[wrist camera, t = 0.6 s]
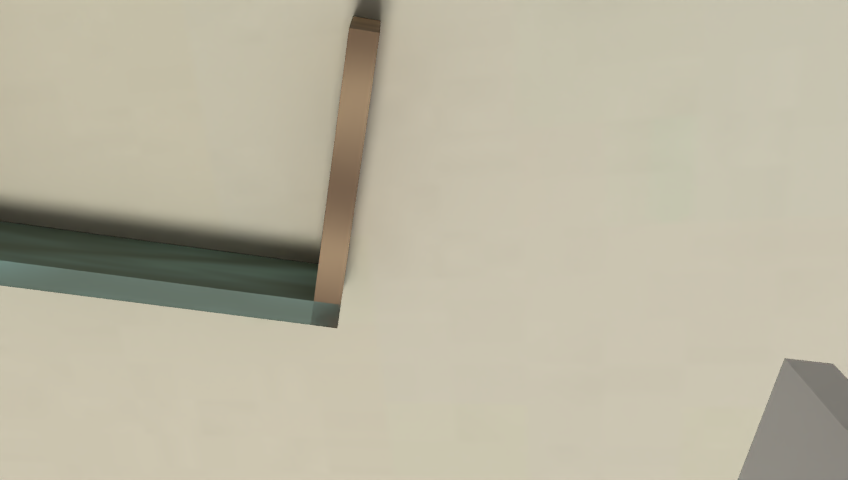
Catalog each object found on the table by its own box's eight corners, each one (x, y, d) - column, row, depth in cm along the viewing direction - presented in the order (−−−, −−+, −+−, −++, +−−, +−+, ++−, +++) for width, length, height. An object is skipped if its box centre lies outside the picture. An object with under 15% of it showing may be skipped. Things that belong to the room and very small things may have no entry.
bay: (-116, -63, 32) (-182, -61, 28) (380, 20, 34) (379, 32, 31) (-92, 232, 37) (-146, 267, 33) (341, 289, 39) (337, 328, 35)
